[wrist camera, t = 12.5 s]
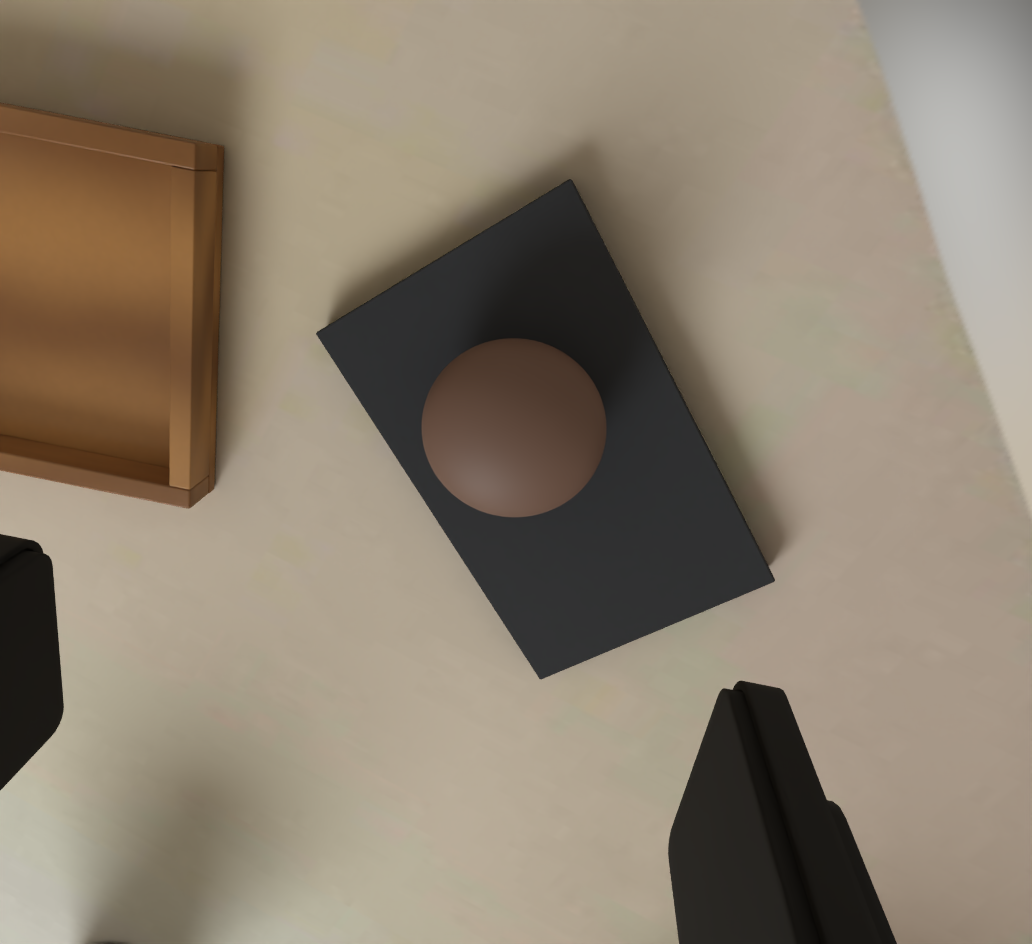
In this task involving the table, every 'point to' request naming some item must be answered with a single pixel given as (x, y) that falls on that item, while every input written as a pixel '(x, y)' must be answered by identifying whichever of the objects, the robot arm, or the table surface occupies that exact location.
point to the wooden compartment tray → (109, 305)
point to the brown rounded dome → (514, 427)
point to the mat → (625, 460)
